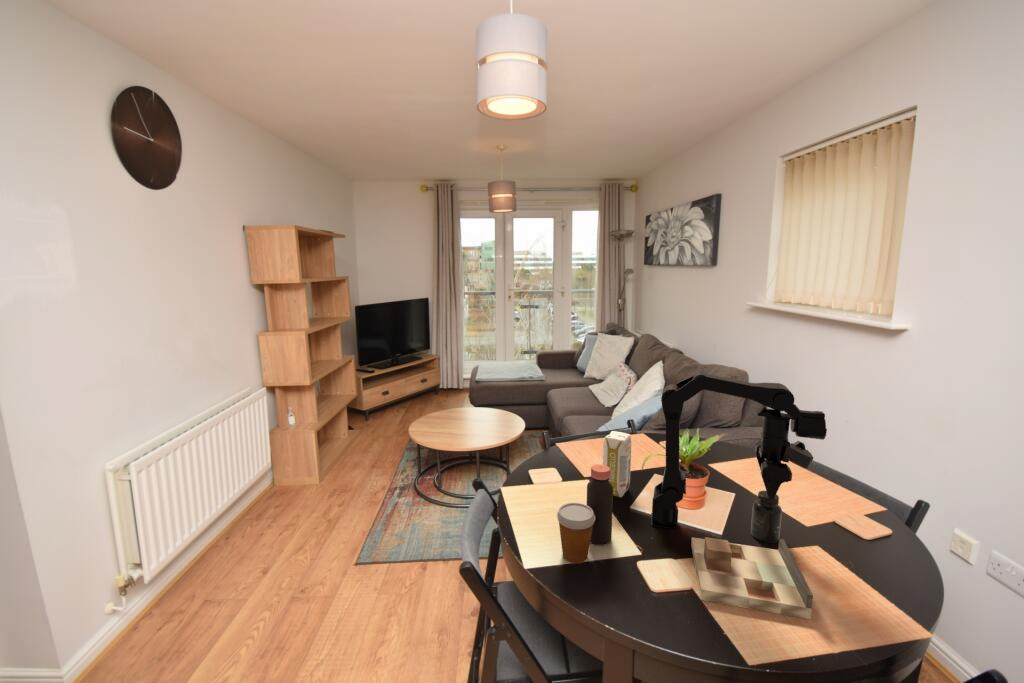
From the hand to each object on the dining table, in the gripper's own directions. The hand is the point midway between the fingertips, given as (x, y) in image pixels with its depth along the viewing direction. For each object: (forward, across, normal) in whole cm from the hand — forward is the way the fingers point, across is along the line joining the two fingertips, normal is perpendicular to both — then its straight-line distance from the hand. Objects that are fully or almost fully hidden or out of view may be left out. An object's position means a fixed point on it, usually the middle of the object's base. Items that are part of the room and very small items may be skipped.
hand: (768, 490), depth 117 cm
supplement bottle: (+14, +2, 0) cm, 14 cm away
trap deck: (+14, -19, +6) cm, 24 cm away
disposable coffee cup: (+15, -26, +44) cm, 53 cm away
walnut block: (+12, -20, +12) cm, 26 cm away
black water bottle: (+15, -16, +41) cm, 46 cm away
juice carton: (+15, +12, +41) cm, 45 cm away
